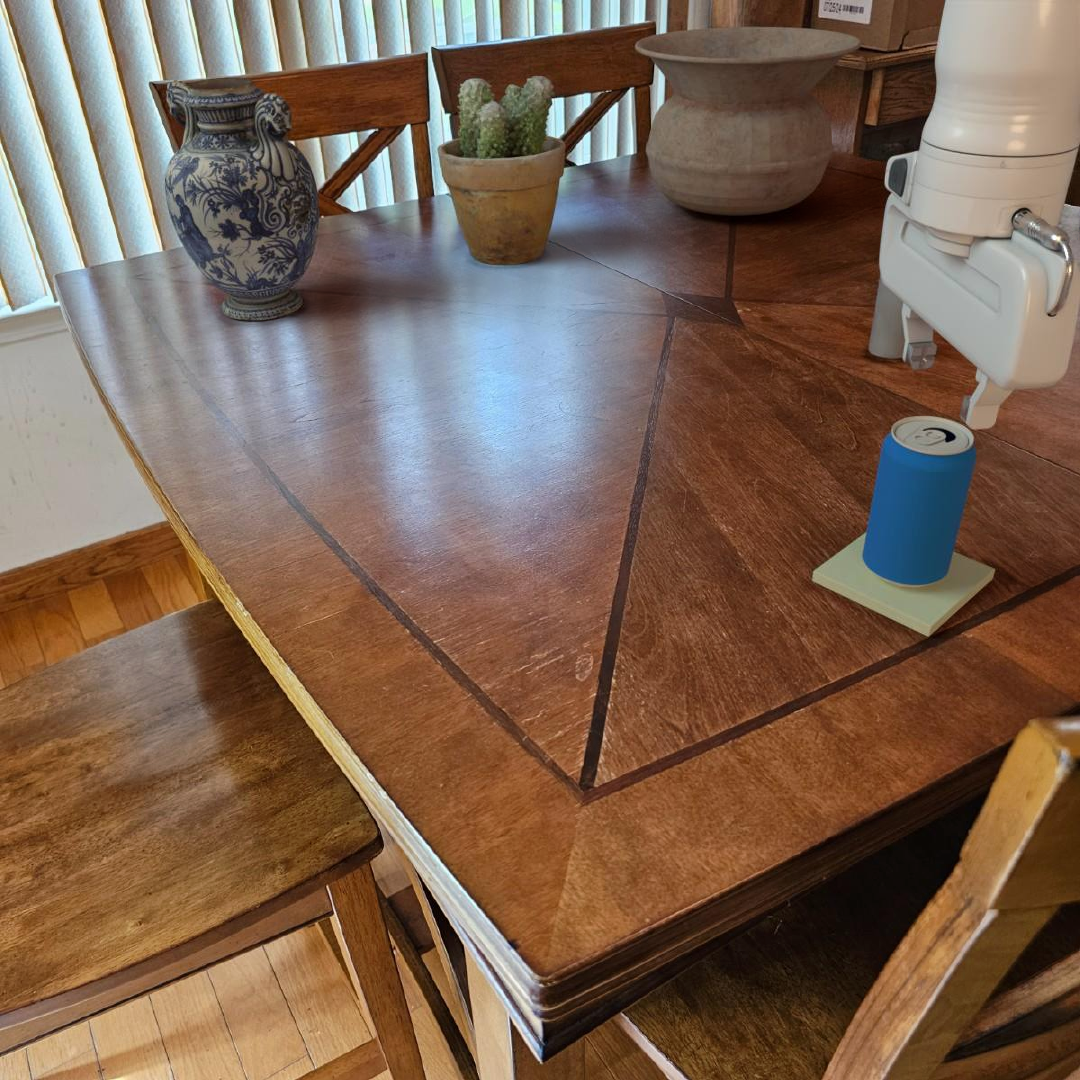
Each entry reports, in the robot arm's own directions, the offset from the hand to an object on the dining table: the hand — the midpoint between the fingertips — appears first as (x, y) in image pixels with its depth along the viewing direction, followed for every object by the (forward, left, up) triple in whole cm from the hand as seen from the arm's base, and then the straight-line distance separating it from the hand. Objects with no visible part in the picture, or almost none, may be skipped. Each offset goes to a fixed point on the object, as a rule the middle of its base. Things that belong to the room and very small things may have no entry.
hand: (944, 393), depth 69 cm
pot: (+74, -75, -16) cm, 107 cm away
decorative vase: (+93, +3, -16) cm, 95 cm away
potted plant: (+85, -34, -16) cm, 93 cm away
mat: (0, 0, -16) cm, 16 cm away
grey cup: (+24, -39, -16) cm, 49 cm away
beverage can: (0, 0, -15) cm, 16 cm away
